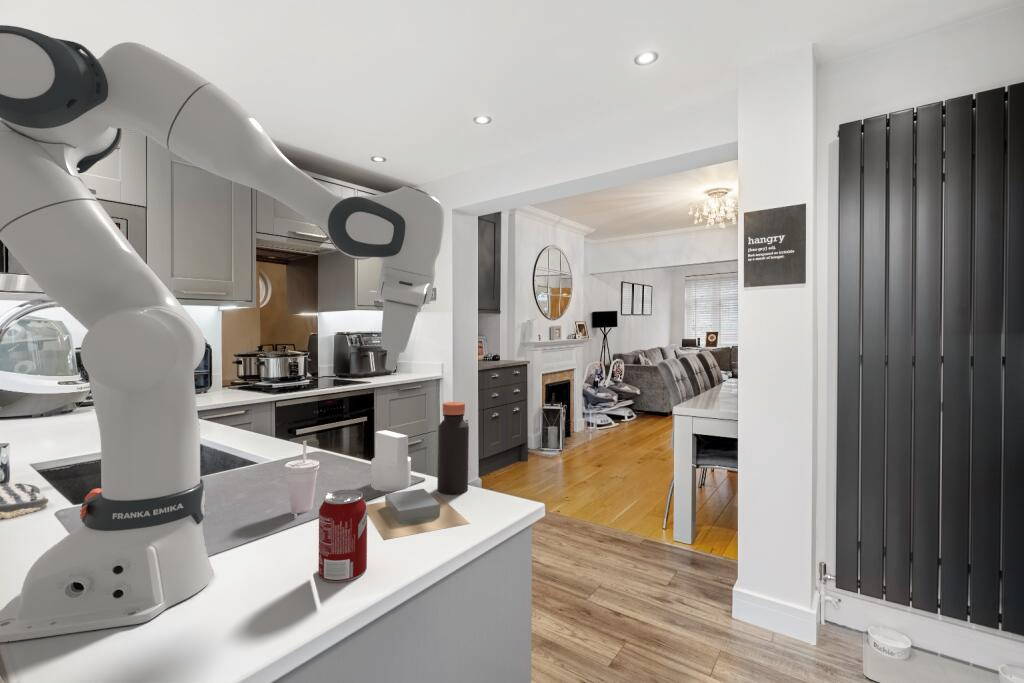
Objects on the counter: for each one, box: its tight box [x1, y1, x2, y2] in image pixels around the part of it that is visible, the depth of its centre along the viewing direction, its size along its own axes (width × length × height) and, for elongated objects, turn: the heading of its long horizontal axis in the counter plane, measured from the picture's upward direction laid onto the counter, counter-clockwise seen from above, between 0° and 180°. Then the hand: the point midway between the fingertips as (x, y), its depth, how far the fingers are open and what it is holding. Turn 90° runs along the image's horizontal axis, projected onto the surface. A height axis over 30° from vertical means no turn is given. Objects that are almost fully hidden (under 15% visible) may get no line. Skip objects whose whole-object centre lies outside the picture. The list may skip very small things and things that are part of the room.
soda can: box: [318, 488, 368, 584], centre depth 73 cm, size 7×7×12 cm
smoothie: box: [284, 440, 320, 514], centre depth 97 cm, size 6×6×14 cm
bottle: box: [437, 401, 470, 496], centre depth 110 cm, size 7×7×20 cm
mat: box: [367, 493, 471, 541], centre depth 95 cm, size 16×18×1 cm
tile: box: [384, 488, 440, 524], centre depth 96 cm, size 8×2×10 cm
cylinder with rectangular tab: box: [370, 429, 412, 492], centre depth 114 cm, size 9×9×12 cm
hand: (390, 368), depth 84 cm, fingers closed
